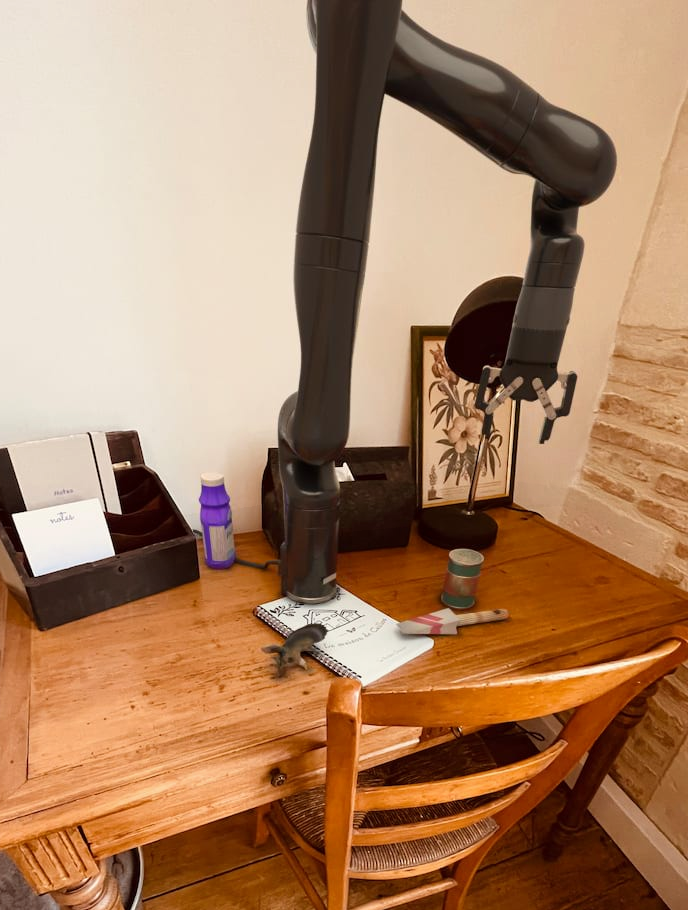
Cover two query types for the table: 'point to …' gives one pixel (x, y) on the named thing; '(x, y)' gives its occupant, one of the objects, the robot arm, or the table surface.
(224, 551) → the bottle
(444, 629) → the paintbrush
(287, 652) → the bushy tailed squirrel toy
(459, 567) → the tin can
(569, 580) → the table surface
